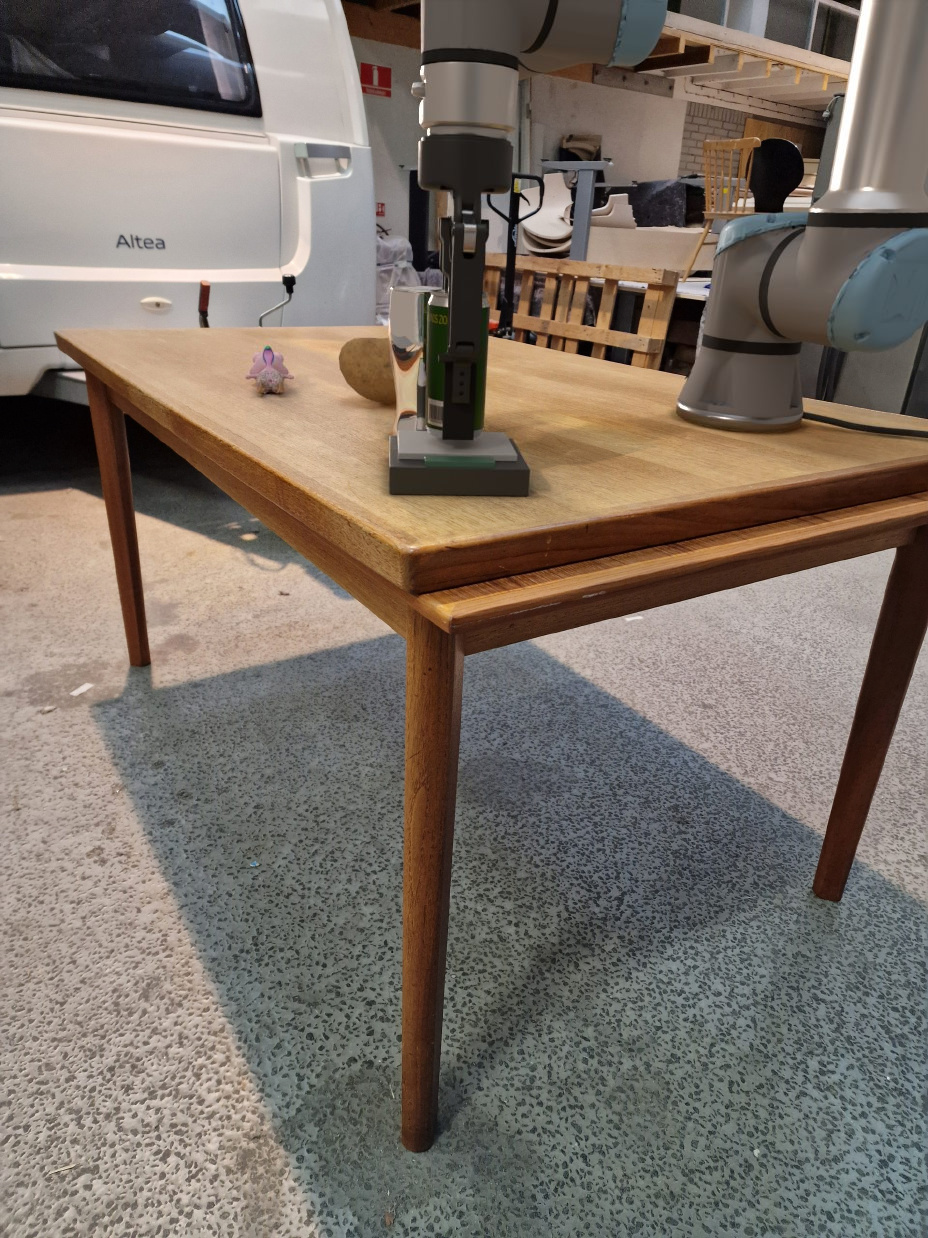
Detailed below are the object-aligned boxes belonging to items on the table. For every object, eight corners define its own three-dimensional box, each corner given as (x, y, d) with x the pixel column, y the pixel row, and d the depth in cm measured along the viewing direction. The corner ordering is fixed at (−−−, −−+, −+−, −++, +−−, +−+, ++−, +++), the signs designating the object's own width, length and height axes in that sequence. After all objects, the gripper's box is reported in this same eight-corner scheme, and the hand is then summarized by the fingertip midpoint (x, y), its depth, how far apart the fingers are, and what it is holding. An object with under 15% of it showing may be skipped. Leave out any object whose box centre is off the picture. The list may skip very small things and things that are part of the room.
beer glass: (445, 448, 84) (450, 292, 78) (380, 442, 86) (379, 288, 79) (458, 433, 91) (464, 287, 84) (398, 428, 92) (399, 284, 85)
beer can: (466, 443, 71) (472, 295, 66) (413, 434, 73) (415, 290, 68) (493, 431, 76) (501, 292, 70) (443, 423, 78) (447, 287, 73)
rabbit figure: (296, 406, 106) (290, 367, 118) (294, 360, 102) (288, 325, 114) (246, 406, 104) (245, 367, 116) (243, 360, 101) (242, 324, 113)
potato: (456, 411, 101) (458, 343, 97) (341, 411, 98) (339, 341, 95) (444, 396, 110) (446, 333, 106) (338, 395, 107) (336, 331, 104)
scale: (511, 462, 81) (513, 432, 79) (528, 496, 71) (530, 462, 70) (389, 460, 80) (389, 429, 78) (389, 494, 70) (389, 459, 68)
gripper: (415, 142, 72) (411, 408, 82) (423, 120, 56) (417, 456, 66) (499, 147, 73) (485, 410, 83) (532, 126, 56) (509, 458, 67)
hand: (455, 430), depth 74 cm, fingers closed on beer can, 5 cm apart
